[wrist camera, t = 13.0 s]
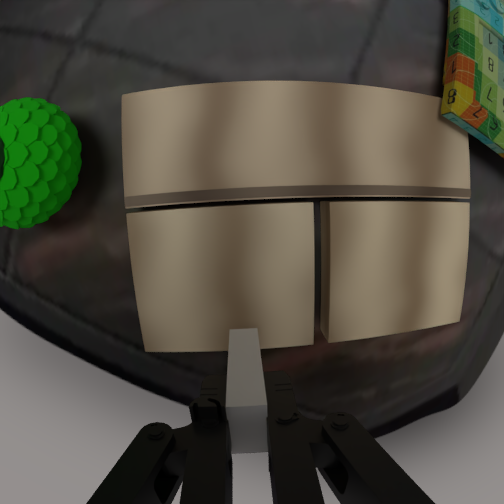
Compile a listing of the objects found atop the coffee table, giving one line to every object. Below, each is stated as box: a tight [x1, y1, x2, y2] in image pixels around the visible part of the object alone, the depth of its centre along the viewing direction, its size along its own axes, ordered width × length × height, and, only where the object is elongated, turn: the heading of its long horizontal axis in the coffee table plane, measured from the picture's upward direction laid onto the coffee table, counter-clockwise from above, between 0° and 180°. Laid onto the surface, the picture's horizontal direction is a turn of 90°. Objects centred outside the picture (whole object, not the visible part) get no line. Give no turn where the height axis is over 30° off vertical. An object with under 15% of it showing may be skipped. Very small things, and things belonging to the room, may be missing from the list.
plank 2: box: [320, 200, 469, 343], centre depth 20 cm, size 11×9×2 cm
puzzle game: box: [441, 0, 504, 158], centre depth 16 cm, size 12×5×20 cm
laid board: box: [122, 81, 471, 209], centre depth 18 cm, size 23×7×2 cm, turn 93°
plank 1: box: [126, 201, 314, 352], centre depth 20 cm, size 11×9×2 cm
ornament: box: [0, 97, 82, 229], centre depth 14 cm, size 8×8×10 cm
